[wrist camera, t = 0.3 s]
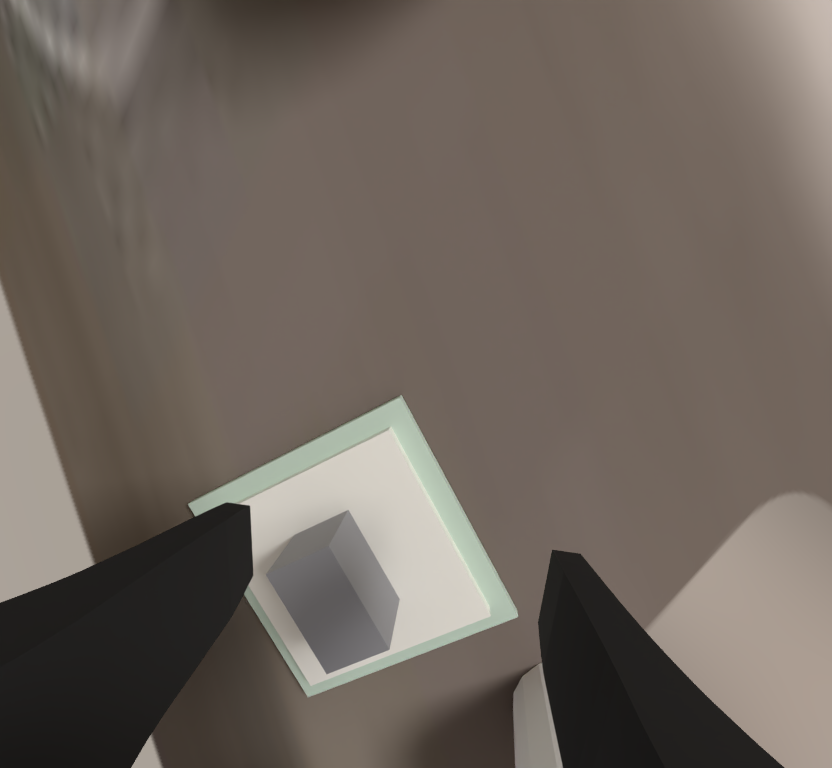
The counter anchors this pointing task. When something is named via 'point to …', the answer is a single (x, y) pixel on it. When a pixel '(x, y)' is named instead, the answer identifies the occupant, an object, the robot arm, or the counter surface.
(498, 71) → the counter surface
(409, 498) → the lid
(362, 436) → the mat
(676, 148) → the counter surface
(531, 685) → the shot glass
